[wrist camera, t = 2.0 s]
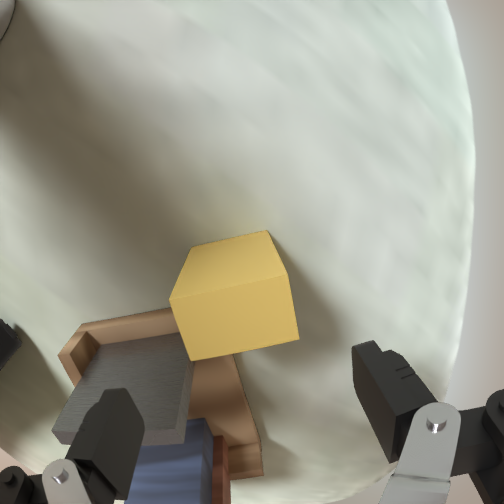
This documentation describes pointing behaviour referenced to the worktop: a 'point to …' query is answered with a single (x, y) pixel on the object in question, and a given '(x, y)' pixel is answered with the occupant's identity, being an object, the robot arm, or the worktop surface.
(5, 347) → the magazine
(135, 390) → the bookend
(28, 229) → the worktop surface
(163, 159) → the worktop surface
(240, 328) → the book
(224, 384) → the shelf
